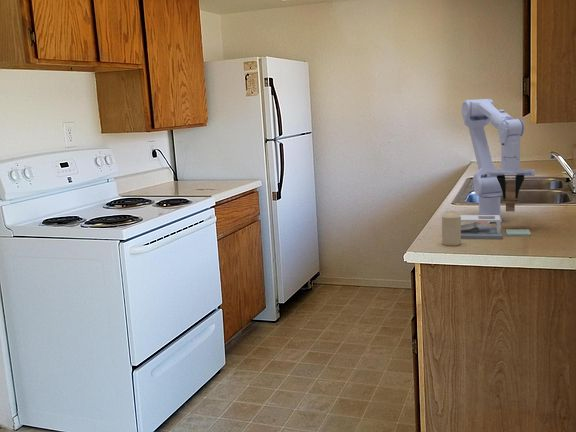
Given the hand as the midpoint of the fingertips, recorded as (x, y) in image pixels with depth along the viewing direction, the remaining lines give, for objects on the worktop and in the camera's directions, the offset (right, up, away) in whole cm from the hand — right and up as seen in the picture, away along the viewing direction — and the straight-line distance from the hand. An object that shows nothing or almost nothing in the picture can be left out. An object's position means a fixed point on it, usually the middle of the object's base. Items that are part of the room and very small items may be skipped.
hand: (510, 198), depth 199 cm
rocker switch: (-13, -9, -3) cm, 16 cm away
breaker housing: (-12, -12, -3) cm, 17 cm away
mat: (0, -11, -6) cm, 13 cm away
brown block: (0, -4, +1) cm, 4 cm away
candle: (-23, -14, -14) cm, 31 cm away
